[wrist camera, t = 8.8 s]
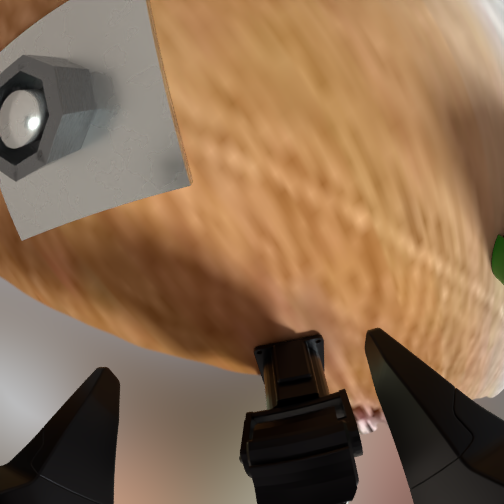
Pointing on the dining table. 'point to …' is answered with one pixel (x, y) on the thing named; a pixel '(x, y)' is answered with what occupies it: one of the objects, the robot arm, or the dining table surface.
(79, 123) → the octagonal hollow lampshade
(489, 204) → the dining table surface
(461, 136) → the dining table surface
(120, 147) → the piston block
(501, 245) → the motor
